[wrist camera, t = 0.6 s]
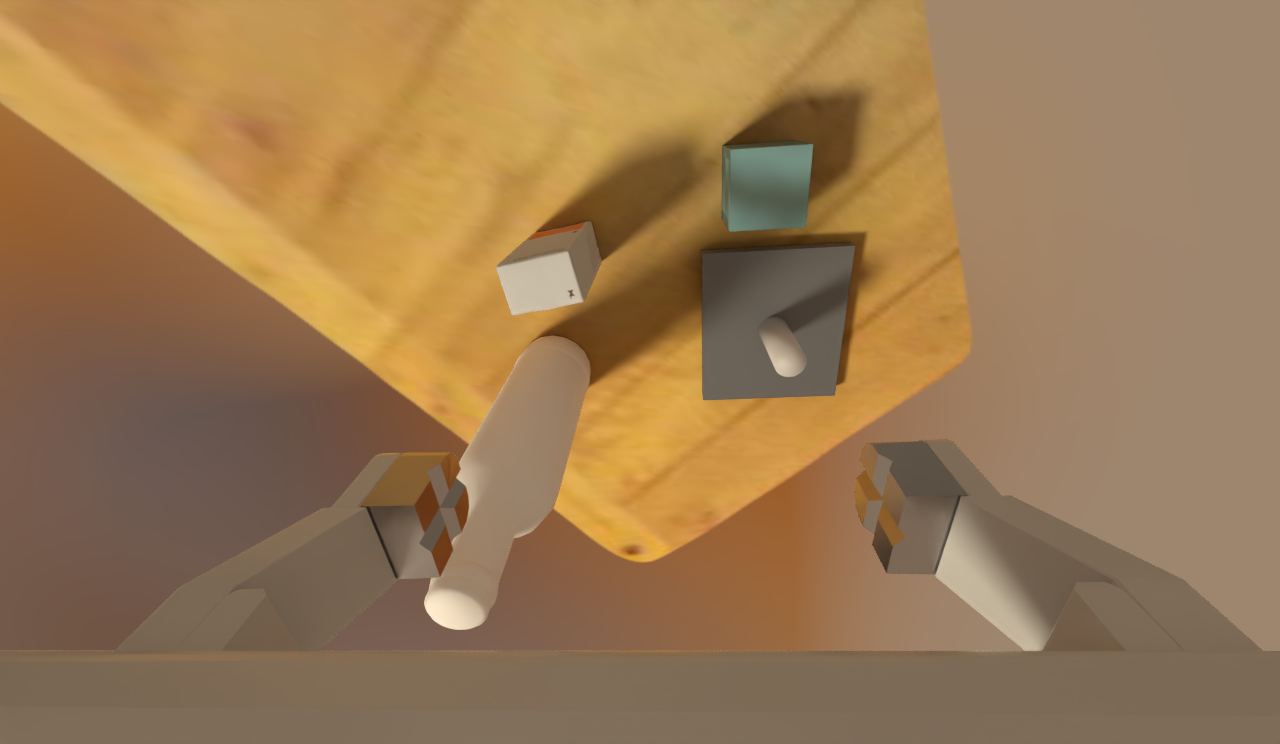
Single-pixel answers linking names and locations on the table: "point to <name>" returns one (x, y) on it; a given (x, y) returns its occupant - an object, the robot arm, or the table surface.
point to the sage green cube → (766, 185)
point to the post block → (773, 320)
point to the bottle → (511, 475)
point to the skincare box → (550, 269)
